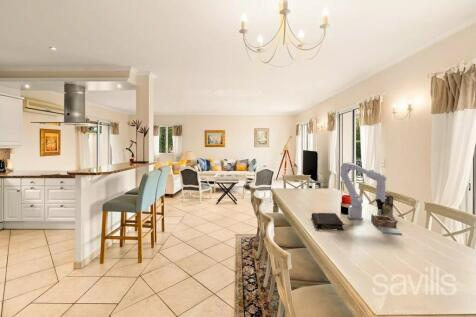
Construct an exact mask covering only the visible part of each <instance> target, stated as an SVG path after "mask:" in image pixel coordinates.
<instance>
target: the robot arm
mask: <svg viewBox="0 0 476 317" xmlns="http://www.w3.org/2000/svg"><path fill="white" fill-rule="evenodd" d="M351 171H357V172H360V173H363V174H364V175H365V176H366V177H367V178H369V179H372V180H374V181H375V182H376V186H375V187H376V188H375V189H376V192H375V201H376V206H377V210H378V209H379V210H382V207H383V204H384V203H385V199H387V198H386V197H385V195H386V181H387V176H385V174H381V173H380V172H376V171H375V170H374V169H366V168H364V167H361V166H359V165H358V164H356V163H352V162H350V161H347V162H344V163H342V164H341V166H340V177H341V179H342V181H343V183H344V185H345V188H346V190H347V192H348V193H349V196H350V199H349V200H350V203H351V204H350V205H349V206H348V212H347V214H348V217H349V219H355V220H356V219H358V220H363V219H364V218H363V217H362V216H363V205H362V204H363V202H364V201H363V198H362V196H360V195H359V193H357V191H356V189H355V186H354V184H353V182H352V180H351V178H350V176H349V174H350V172H351Z"/></svg>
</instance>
